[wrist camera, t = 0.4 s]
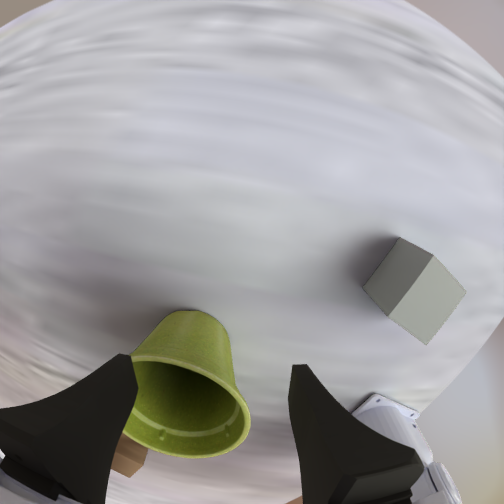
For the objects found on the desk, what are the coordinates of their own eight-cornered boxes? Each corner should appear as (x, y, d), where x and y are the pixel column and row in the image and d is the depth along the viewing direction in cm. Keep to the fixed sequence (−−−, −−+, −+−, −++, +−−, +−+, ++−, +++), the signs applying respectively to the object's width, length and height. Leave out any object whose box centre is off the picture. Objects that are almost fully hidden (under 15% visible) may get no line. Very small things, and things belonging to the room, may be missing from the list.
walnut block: (153, 432, 27) (143, 465, 22) (139, 447, 28) (129, 477, 23) (114, 410, 26) (99, 442, 21) (103, 428, 27) (90, 457, 22)
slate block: (433, 269, 21) (466, 291, 17) (399, 315, 23) (426, 345, 18) (399, 236, 21) (433, 254, 16) (361, 287, 22) (387, 316, 17)
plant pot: (206, 398, 25) (195, 471, 16) (121, 341, 23) (79, 407, 15) (273, 336, 23) (284, 415, 14) (177, 265, 21) (137, 323, 13)
